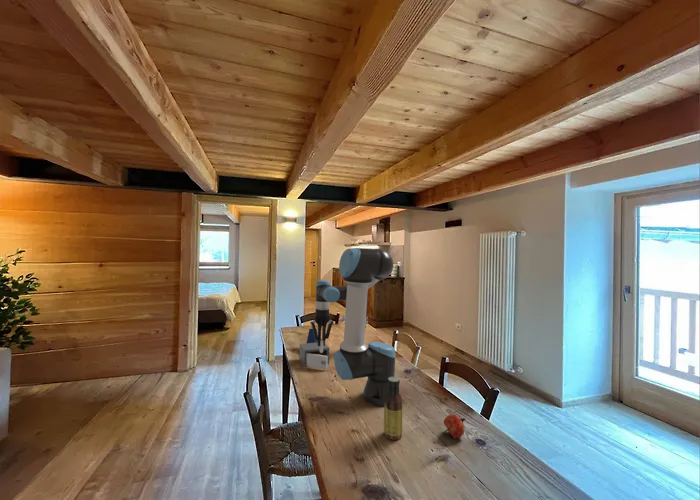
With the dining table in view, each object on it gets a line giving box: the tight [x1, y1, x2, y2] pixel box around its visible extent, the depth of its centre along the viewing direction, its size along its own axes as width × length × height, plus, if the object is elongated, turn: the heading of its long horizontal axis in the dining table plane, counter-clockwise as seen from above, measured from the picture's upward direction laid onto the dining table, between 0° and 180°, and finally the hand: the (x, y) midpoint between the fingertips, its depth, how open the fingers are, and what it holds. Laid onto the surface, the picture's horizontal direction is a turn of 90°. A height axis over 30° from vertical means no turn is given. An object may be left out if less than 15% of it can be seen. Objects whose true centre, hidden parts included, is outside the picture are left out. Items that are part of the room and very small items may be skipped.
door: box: [306, 353, 328, 370], centre depth 163 cm, size 2×12×7 cm, turn 72°
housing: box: [299, 342, 330, 368], centre depth 173 cm, size 12×14×9 cm
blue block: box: [306, 328, 318, 343], centre depth 193 cm, size 6×20×15 cm, turn 174°
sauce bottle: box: [383, 376, 404, 441], centre depth 105 cm, size 6×6×20 cm
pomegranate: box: [442, 414, 467, 439], centre depth 107 cm, size 7×7×10 cm
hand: (321, 351), depth 166 cm, fingers closed
